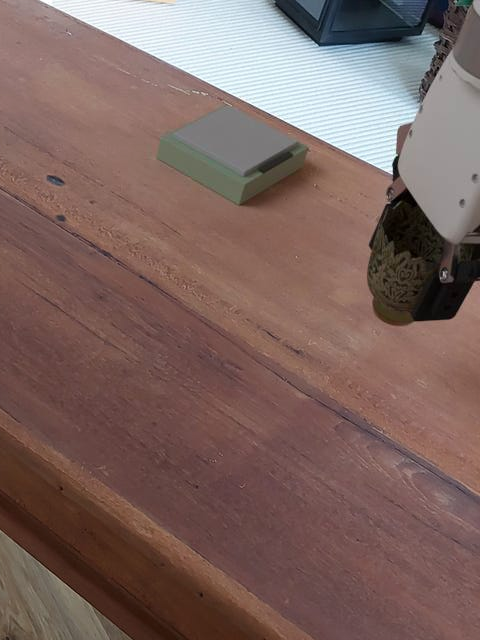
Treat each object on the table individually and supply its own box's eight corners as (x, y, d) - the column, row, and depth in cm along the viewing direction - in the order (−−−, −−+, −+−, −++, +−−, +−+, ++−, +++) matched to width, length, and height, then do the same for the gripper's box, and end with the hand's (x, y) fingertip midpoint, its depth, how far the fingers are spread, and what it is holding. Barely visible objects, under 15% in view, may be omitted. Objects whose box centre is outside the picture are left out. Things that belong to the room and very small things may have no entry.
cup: (365, 272, 73) (403, 186, 67) (454, 308, 70) (501, 223, 64) (330, 320, 69) (366, 234, 63) (422, 360, 66) (469, 275, 60)
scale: (302, 167, 94) (311, 141, 92) (238, 205, 89) (246, 178, 87) (220, 124, 99) (227, 98, 97) (156, 158, 94) (161, 131, 92)
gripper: (664, 122, 48) (509, 359, 62) (513, -17, 59) (409, 211, 73) (535, 127, 48) (407, 365, 61) (406, -14, 58) (322, 216, 72)
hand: (409, 280), depth 67 cm, fingers closed on cup, 7 cm apart
